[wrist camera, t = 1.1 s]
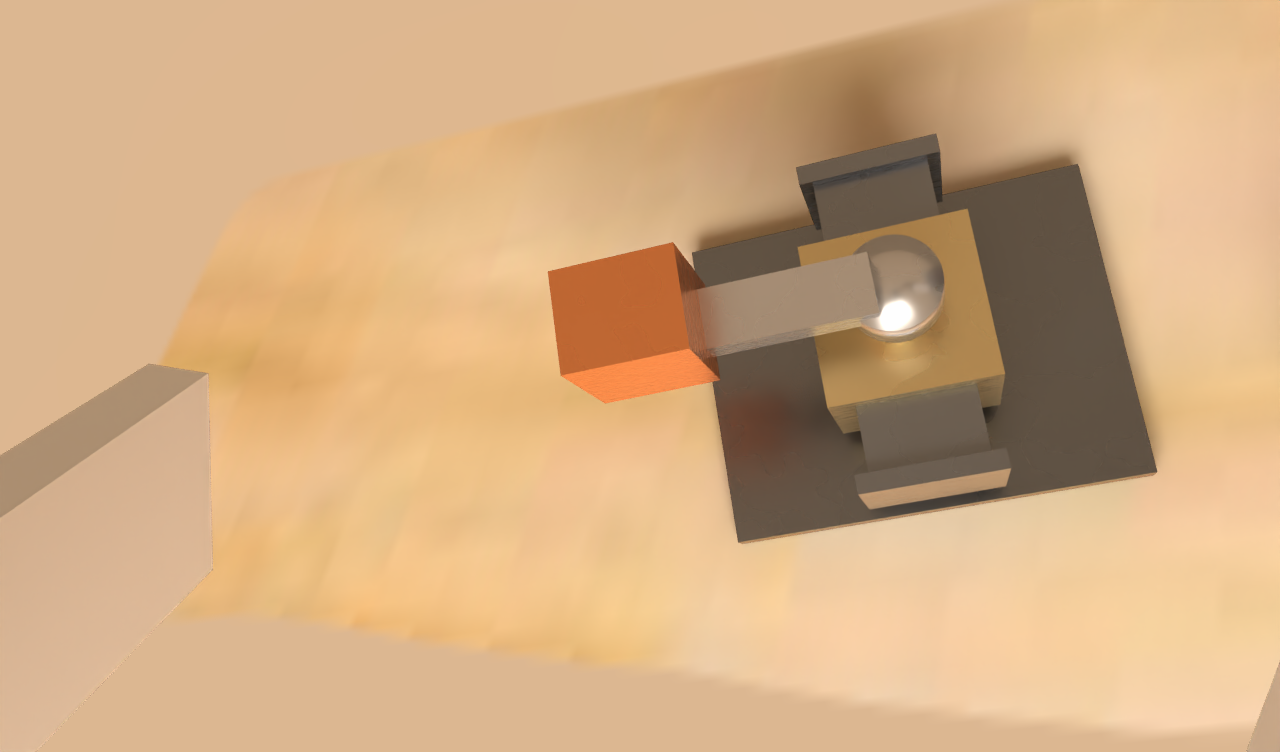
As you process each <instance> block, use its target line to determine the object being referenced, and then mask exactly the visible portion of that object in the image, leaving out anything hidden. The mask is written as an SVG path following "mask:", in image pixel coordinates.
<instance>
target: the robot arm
mask: <svg viewBox="0 0 1280 752" xmlns="http://www.w3.org/2000/svg"><path fill="white" fill-rule="evenodd" d="M212 570H213V552H212V508H211V464H210V421H209V377H208V373H203V372H197V371H191V370H185V369H178V368H172V367H166V366H160V365H154V364H148V365H146V366H145V367H143V368H141V369H140V370H138V371H136V372H135V373H133V374H132V375H130V376H128V377H127V378H125V379H123V380H122V381H120V382H119V383H117V384H115V385H114V386H112V387H111V388H109V389H107V390H106V391H104V392H102V393H101V394H99V395H97V396H96V397H94V398H93V399H91V400H89V401H88V402H86V403H85V404H83V405H81V406H80V407H78V408H76V409H75V410H73V411H72V412H70V413H68V414H67V415H65V416H64V417H62V418H60V419H59V420H57V421H55V422H54V423H52V424H51V425H49V426H47V427H46V428H44V429H42V430H41V431H39V432H37V433H36V434H34V435H33V436H31V437H29V438H28V439H26V440H25V441H23V442H21V443H20V444H18V445H16V446H15V447H13V448H11V449H10V450H8V451H7V452H5V453H3V454H2V455H0V752H36V751H37V750H38V749H39V748H40V747H41V746H42V745H43V744H44V743H45V742H46V741H47V740H48V739H49V738H50V737H51V736H52V735H53V734H54V733H55V732H56V731H57V730H58V729H59V728H60V727H61V726H62V725H63V724H64V723H65V721H66V720H67V719H68V718H69V717H70V716H71V715H72V714H73V713H74V712H75V711H76V710H77V709H78V708H79V707H80V706H81V705H82V704H83V703H84V702H85V701H86V700H87V699H88V698H89V697H90V696H91V695H92V693H94V691H95V690H96V689H97V688H98V687H99V686H100V685H101V684H102V683H103V682H104V681H105V680H106V679H107V678H108V677H109V676H110V675H111V674H112V673H113V672H114V671H115V670H116V669H117V668H118V667H119V666H120V665H121V664H122V663H123V661H124V660H125V659H126V658H127V657H128V656H129V655H130V654H131V653H132V652H133V651H134V650H135V649H136V648H137V647H138V646H139V645H140V644H141V643H142V642H143V641H144V640H145V639H146V638H147V637H148V636H149V635H150V634H151V632H152V631H154V630H155V628H156V627H157V626H158V625H159V624H160V623H161V622H162V621H163V620H164V619H165V618H166V617H167V616H168V615H169V614H170V613H171V612H172V611H173V610H174V609H175V608H176V607H177V606H178V605H179V604H180V603H181V602H182V601H183V600H184V599H185V597H186V596H187V595H188V594H189V593H190V592H191V591H192V590H193V589H194V588H195V587H196V586H197V585H198V584H199V583H200V582H201V581H202V580H203V579H204V578H205V577H206V576H207V575H208V574H209V573H210V572H211V571H212ZM1247 752H1280V662H1279V665H1278V668H1277V670H1276V673H1275V676H1274V678H1273V681H1272V684H1271V686H1270V689H1269V692H1268V694H1267V697H1266V700H1265V702H1264V705H1263V708H1262V710H1261V713H1260V716H1259V718H1258V721H1257V724H1256V726H1255V729H1254V732H1253V734H1252V737H1251V740H1250V742H1249V745H1248V748H1247Z"/></svg>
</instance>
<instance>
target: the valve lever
mask: <svg viewBox="0 0 1280 752" xmlns="http://www.w3.org/2000/svg"><path fill="white" fill-rule="evenodd" d="M548 277H549V285H550V293H551V301H552V309H553V317H554V325H555V333H556V341H557V349H558V357H559V365H560V373H561V376H562V377H564V378H565V379H567V380H569V381H570V382H572V383H573V384H575V385H577V386H578V387H580V388H581V389H583V390H585V391H586V392H588V393H589V394H591V395H593V396H594V397H596V398H597V399H599V400H601V401H602V402H604V403H609V402H614V401H619V400H624V399H629V398H634V397H639V396H644V395H649V394H654V393H659V392H664V391H669V390H674V389H679V388H684V387H689V386H694V385H699V384H703V383H708V382H713V381H718V380H720V374H719V368H718V361H717V356H720V355H725V354H730V353H735V352H740V351H745V350H749V349H754V348H759V347H764V346H769V345H774V344H778V343H783V342H788V341H793V340H798V339H803V338H807V337H812V336H817V335H822V334H827V333H831V332H836V331H841V330H846V329H851V328H856V327H858V328H859V329H860V330H861V331H862V332H863V333H865V334H866V335H867V336H869V337H871V338H873V339H876V340H878V341H882V342H887V343H901V342H906V341H910V340H913V339H915V338H918V337H919V336H921V335H923V334H924V333H926V332H927V331H928V330H929V329H930V328H931V327H932V326H933V325H934V324H935V323H936V321H937V320H938V318H939V317H940V314H941V312H942V310H943V306H944V301H945V285H944V274H943V269H942V266H941V263H940V261H939V259H938V258H937V256H936V254H935V253H934V252H933V251H932V250H931V249H930V248H929V247H928V246H927V245H926V244H924V243H923V242H921V241H919V240H917V239H915V238H912V237H909V236H905V235H897V234H893V235H884V236H880V237H876V238H874V239H872V240H869V241H868V242H866V243H864V244H863V245H862V246H860V247H859V248H858V249H857V250H856V251H855V252H854V253H853V254H852V255H850V256H846V257H841V258H837V259H832V260H828V261H823V262H819V263H814V264H810V265H805V266H801V267H796V268H792V269H787V270H783V271H778V272H774V273H769V274H765V275H760V276H756V277H751V278H747V279H742V280H738V281H733V282H728V283H724V284H719V285H715V286H710V287H705V284H704V283H703V281H702V280H701V279H700V277H699V276H698V275H697V273H696V272H695V271H694V269H693V268H692V267H691V265H690V264H689V263H688V261H687V260H686V259H685V257H684V256H683V255H682V253H681V252H680V251H679V250H678V248H677V247H676V246H675V244H674V243H668V244H664V245H660V246H655V247H651V248H647V249H642V250H638V251H634V252H630V253H625V254H621V255H617V256H612V257H608V258H604V259H600V260H595V261H591V262H587V263H582V264H578V265H574V266H570V267H565V268H561V269H557V270H552V271H548Z"/></svg>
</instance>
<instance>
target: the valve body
mask: <svg viewBox="0 0 1280 752" xmlns="http://www.w3.org/2000/svg"><path fill="white" fill-rule="evenodd" d="M796 169H797V174H798V180H799V185H800V188H801V190H802V193H803V196H804V198H805V201H806V204H807V206H808V209H809V212H810V214H811V217H812V220H813V222H814V225H810V226H806V227H802V228H797V229H793V230H789V231H784V232H780V233H776V234H771V235H767V236H763V237H758V238H754V239H750V240H745V241H741V242H736V243H732V244H728V245H723V246H719V247H715V248H710V249H706V250H702V251H697V252H693V253H692V256H693V262H694V268H695V272H696V273H697V275H698V276H699V277H700V279H701V280H702V281H703V283H704V284H705V287H710V286H715V285H719V284H724V283H728V282H733V281H738V280H742V279H747V278H751V277H756V276H760V275H765V274H769V273H774V272H778V271H783V270H787V269H792V268H796V267H801V266H805V265H810V264H814V263H819V262H823V261H828V260H832V259H837V258H841V257H846V256H850V255H852V254H853V253H854V252H855V251H856V250H857V249H858V248H859V247H860V246H862V245H863V244H864V243H866V242H868V241H869V240H872V239H874V238H876V237H880V236H884V235H893V234H897V235H905V236H909V237H912V238H915V239H917V240H919V241H921V242H923V243H924V244H926V245H927V246H928V247H929V248H930V249H931V250H932V251H933V252H934V253H935V254H936V256H937V258H938V259H939V261H940V263H941V266H942V269H943V274H944V285H945V301H944V306H943V310H942V312H941V314H940V317H939V318H938V320H937V321H936V323H935V324H934V325H933V326H932V327H931V328H930V329H929V330H928V331H927V332H926V333H924V334H923V335H921V336H919V337H918V338H915V339H913V340H910V341H906V342H901V343H887V342H882V341H878V340H876V339H873V338H871V337H869V336H867V335H866V334H865V333H863V332H862V331H861V330H860V329H859V328H858V327H856V328H851V329H846V330H841V331H836V332H831V333H827V334H822V335H817V336H812V337H807V338H803V339H798V340H793V341H788V342H783V343H778V344H774V345H769V346H764V347H759V348H754V349H749V350H745V351H740V352H735V353H730V354H725V355H720V356H717V361H718V368H719V374H720V380H718V381H713V387H714V394H715V400H716V406H717V412H718V419H719V425H720V431H721V437H722V444H723V450H724V456H725V462H726V469H727V475H728V481H729V488H730V494H731V500H732V506H733V513H734V519H735V525H736V531H737V538H738V542H739V543H741V544H745V543H751V542H757V541H763V540H769V539H775V538H781V537H787V536H793V535H799V534H805V533H811V532H817V531H823V530H829V529H835V528H841V527H847V526H853V525H859V524H864V523H870V522H876V521H882V520H888V519H894V518H900V517H906V516H912V515H918V514H924V513H930V512H936V511H942V510H948V509H954V508H960V507H966V506H972V505H978V504H984V503H990V502H996V501H1002V500H1008V499H1014V498H1020V497H1026V496H1032V495H1038V494H1044V493H1050V492H1056V491H1062V490H1068V489H1074V488H1080V487H1086V486H1092V485H1098V484H1104V483H1110V482H1116V481H1122V480H1128V479H1134V478H1140V477H1146V476H1152V475H1154V474H1156V473H1157V469H1156V465H1155V461H1154V457H1153V453H1152V449H1151V446H1150V442H1149V438H1148V434H1147V430H1146V426H1145V422H1144V418H1143V414H1142V411H1141V407H1140V403H1139V399H1138V395H1137V391H1136V387H1135V383H1134V380H1133V376H1132V372H1131V368H1130V364H1129V360H1128V356H1127V352H1126V348H1125V345H1124V341H1123V337H1122V333H1121V329H1120V325H1119V321H1118V317H1117V314H1116V310H1115V306H1114V302H1113V298H1112V294H1111V290H1110V286H1109V282H1108V279H1107V275H1106V271H1105V267H1104V263H1103V259H1102V255H1101V251H1100V248H1099V244H1098V240H1097V236H1096V232H1095V228H1094V224H1093V220H1092V216H1091V213H1090V209H1089V205H1088V201H1087V197H1086V193H1085V189H1084V185H1083V182H1082V178H1081V174H1080V170H1079V166H1078V164H1076V165H1071V166H1067V167H1063V168H1058V169H1054V170H1050V171H1045V172H1041V173H1037V174H1032V175H1028V176H1023V177H1019V178H1015V179H1010V180H1006V181H1002V182H997V183H993V184H989V185H984V186H980V187H976V188H971V189H967V190H963V191H958V192H954V193H950V194H945V195H942V180H941V161H940V149H939V145H938V140H937V136H936V134H932V135H928V136H924V137H920V138H916V139H912V140H908V141H904V142H899V143H895V144H891V145H887V146H883V147H879V148H875V149H871V150H866V151H862V152H858V153H854V154H850V155H846V156H842V157H838V158H833V159H829V160H825V161H821V162H817V163H813V164H809V165H805V166H800V167H796Z"/></svg>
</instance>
